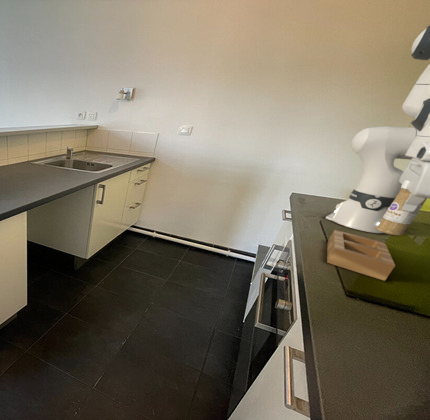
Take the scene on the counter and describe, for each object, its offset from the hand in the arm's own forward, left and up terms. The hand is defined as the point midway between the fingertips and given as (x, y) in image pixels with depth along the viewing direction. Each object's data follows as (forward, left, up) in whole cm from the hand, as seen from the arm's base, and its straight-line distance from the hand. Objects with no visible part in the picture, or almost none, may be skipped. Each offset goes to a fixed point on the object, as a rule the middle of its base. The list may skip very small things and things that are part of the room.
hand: (404, 207), depth 60 cm
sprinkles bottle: (0, 0, -7) cm, 7 cm away
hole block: (-11, -1, -20) cm, 23 cm away
